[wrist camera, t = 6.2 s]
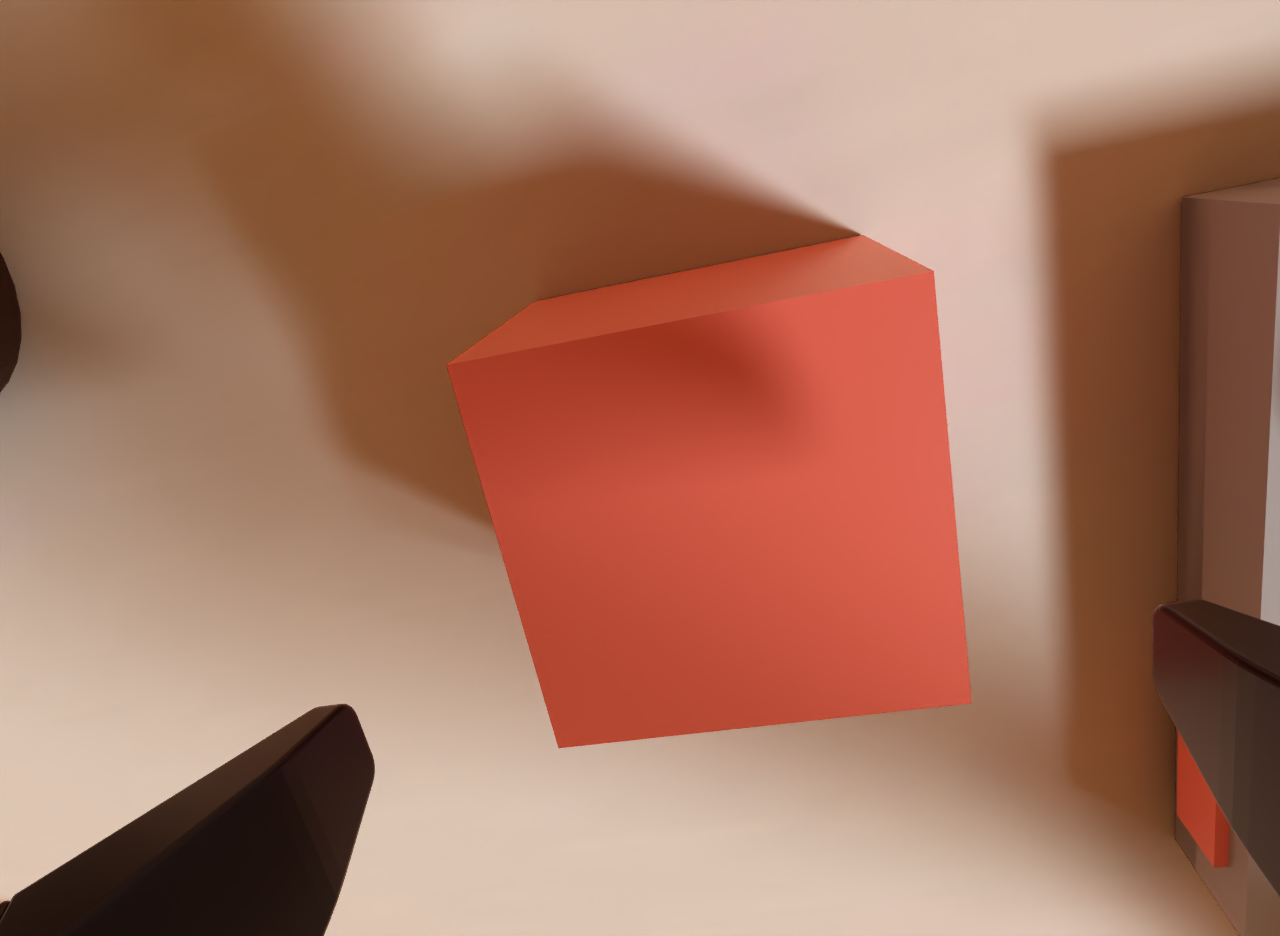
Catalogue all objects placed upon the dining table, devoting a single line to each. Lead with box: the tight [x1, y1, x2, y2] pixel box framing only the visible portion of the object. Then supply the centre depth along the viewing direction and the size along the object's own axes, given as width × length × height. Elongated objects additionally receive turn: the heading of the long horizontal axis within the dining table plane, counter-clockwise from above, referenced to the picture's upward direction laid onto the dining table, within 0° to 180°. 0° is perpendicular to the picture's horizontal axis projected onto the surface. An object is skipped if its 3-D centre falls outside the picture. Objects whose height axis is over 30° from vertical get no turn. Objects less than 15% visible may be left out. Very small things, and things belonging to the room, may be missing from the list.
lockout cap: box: [447, 235, 971, 748], centre depth 15 cm, size 7×7×6 cm
